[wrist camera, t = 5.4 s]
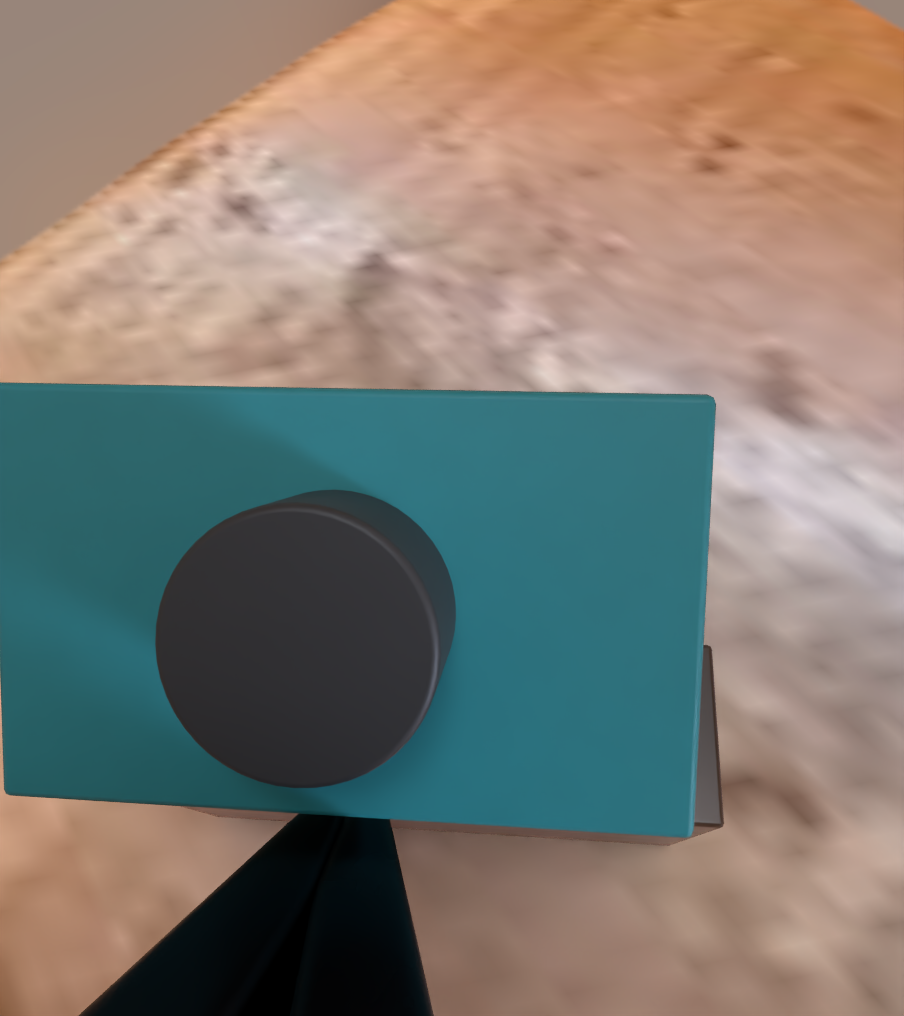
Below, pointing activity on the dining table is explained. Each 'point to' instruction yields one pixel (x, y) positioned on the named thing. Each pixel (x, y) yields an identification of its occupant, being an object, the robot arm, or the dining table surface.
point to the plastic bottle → (357, 601)
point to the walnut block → (705, 821)
